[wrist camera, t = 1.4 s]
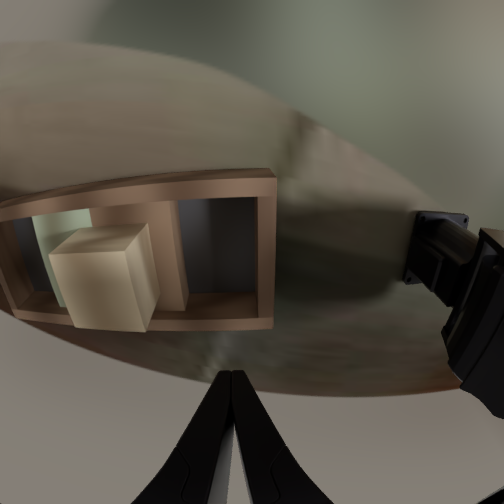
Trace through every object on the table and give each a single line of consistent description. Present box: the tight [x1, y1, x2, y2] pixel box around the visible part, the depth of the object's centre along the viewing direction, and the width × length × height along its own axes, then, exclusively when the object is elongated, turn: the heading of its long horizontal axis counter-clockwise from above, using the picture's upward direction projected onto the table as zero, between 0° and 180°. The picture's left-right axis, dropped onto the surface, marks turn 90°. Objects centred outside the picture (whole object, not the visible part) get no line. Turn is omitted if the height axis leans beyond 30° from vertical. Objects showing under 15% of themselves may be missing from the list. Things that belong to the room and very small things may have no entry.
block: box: [48, 223, 160, 332], centre depth 15 cm, size 5×5×4 cm
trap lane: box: [0, 168, 277, 331], centre depth 17 cm, size 23×10×4 cm, turn 91°
